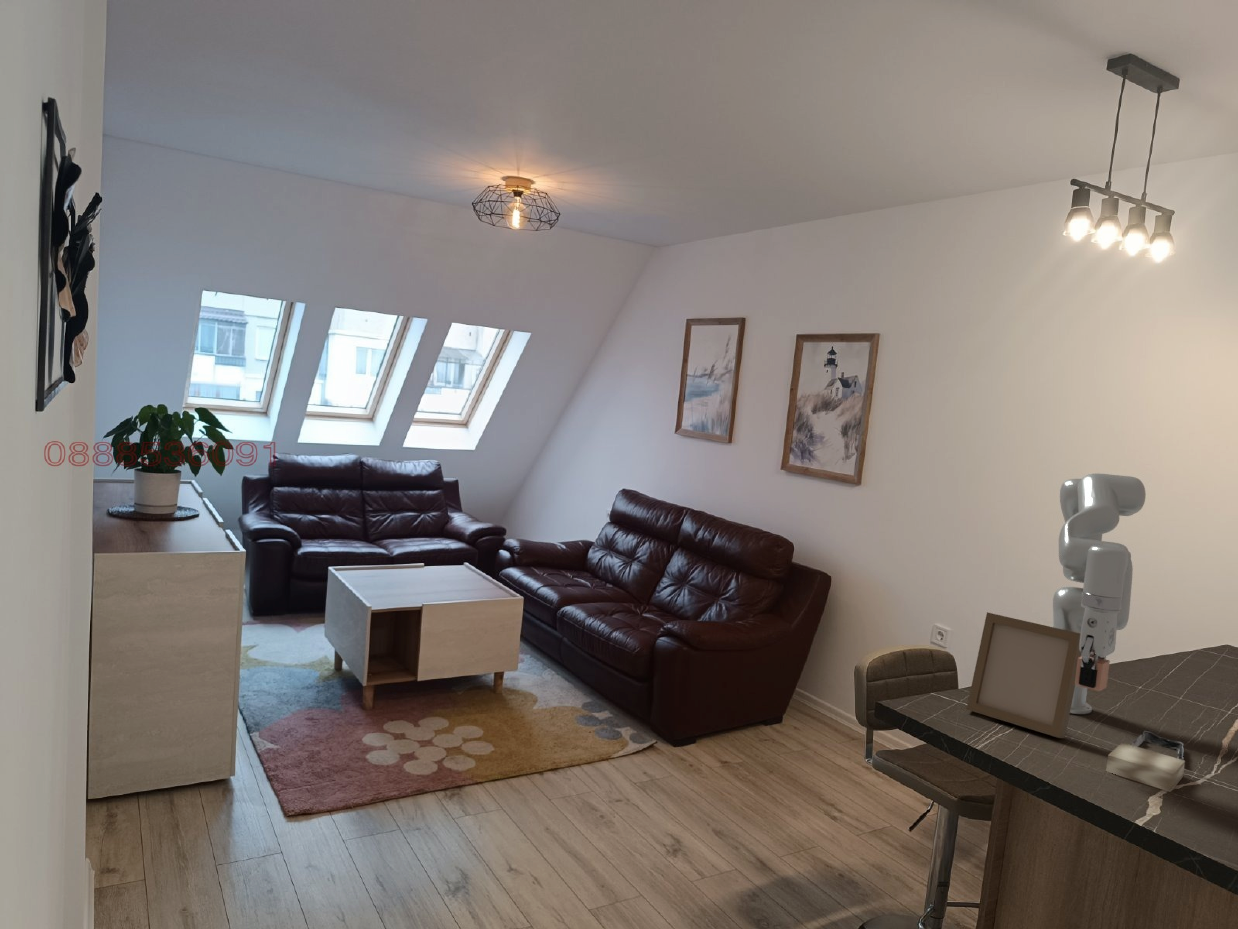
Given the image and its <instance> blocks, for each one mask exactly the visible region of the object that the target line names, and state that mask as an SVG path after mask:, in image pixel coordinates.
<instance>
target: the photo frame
mask: <svg viewBox="0 0 1238 929" xmlns="http://www.w3.org/2000/svg"><path fill="white" fill-rule="evenodd" d="M1079 642H1080V633H1076V632H1072V631H1067V630H1063V629H1058V628H1054V627H1053V626H1049V625H1045V624H1040V623H1037V622H1031V621H1027V620H1022V619H1017V618H1014V617H1010V616H1009V617H1008V616H1005V615H1000V614H996V613H991V612H986V615H985V620H984V624H983V629H982V634H981V638H980V645H979V647H978V648H979V649H978V651H977V652H978V653H977V657H976V663H975V668H974V672H973V677H972V682H971V686H970V691H969V696H968V700H967V706H966V710H968V711H970V712H974V713H977V714H980V715H984V716H987V717H990V718H992V719H993V718H994V719H996V720H1000V721H1002V722H1006V723H1008V724H1009V723H1010V724H1013V725H1016V726H1019V727H1022V728H1025V729H1029V730H1032V731H1035V732H1039V733H1042V734H1045V735H1049V736H1051V737H1054V738H1057V739H1066V734H1067V729H1068V724H1069V723H1068V722H1069V719H1070V715H1071V713H1070V710H1071V705H1072V699H1073V694H1074V689H1075V677H1076V669H1077V661H1078V658H1079V657H1081V654H1082V653H1081V652H1080V650H1079Z"/></svg>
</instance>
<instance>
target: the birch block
mask: <svg viewBox="0 0 1238 929" xmlns="http://www.w3.org/2000/svg"><path fill="white" fill-rule="evenodd" d="M1185 764H1186V760H1184V759H1182V760H1181V759H1178V757H1173V756H1170V755H1168V754H1163V753H1161V752H1157V751H1153V750H1151V749H1147V748H1143V747H1140V746H1138V747H1137V746H1133V745H1132V744H1129V743H1127V742H1123V741H1122V742H1121V743H1120V744H1119V745H1117V747H1116V748H1114V749H1113V750H1112V751H1111V752H1110V753H1109V754H1108V755H1107V760H1106V769H1105V772H1106V771H1107V772H1106V773H1109V774H1112V773H1113V775H1115V774H1116V775H1115V776H1119V777H1121V778H1125V779H1128V780H1132V781H1134V782H1138V783H1141V784H1144V785H1147V786H1151V787H1153V788H1157V789H1160V790H1163V791H1166V792H1168V793H1169V792H1170V793H1171V792H1172V791H1173V790H1174V789H1175V787H1176V786H1177V785H1178V784H1179V782H1180V781H1181V780H1182V778H1183V777H1184V774H1185V773H1184V771H1185Z"/></svg>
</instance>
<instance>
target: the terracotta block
mask: <svg viewBox="0 0 1238 929" xmlns="http://www.w3.org/2000/svg"><path fill="white" fill-rule="evenodd" d="M1090 658H1092V657H1090ZM1092 660H1094V658H1092ZM1081 661H1082V656H1081V657H1079V658H1078V661H1077V669H1076V677H1075V685H1077V686H1081V687H1084V688H1087V690H1088V689H1089V690H1092V691H1097V692H1101V691H1103V690H1104V689H1106V688H1107V687H1108V686H1107V685H1108V678H1109V671H1110V663H1111V661H1110V659H1106V660H1105V659H1101V658H1098V661H1097V666H1096V670H1097V678H1096V686H1095V688H1090V687H1087V686H1083V685H1080V684H1079V676H1080V668H1081Z"/></svg>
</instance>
